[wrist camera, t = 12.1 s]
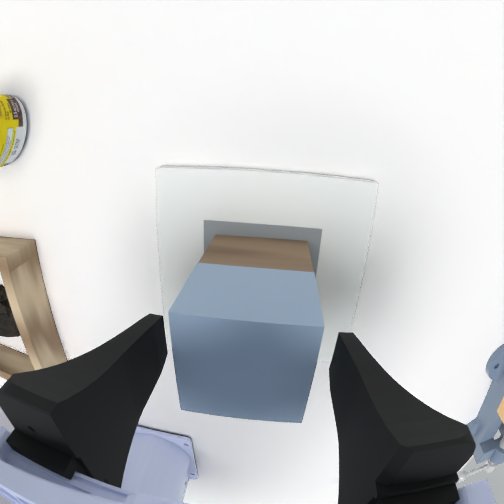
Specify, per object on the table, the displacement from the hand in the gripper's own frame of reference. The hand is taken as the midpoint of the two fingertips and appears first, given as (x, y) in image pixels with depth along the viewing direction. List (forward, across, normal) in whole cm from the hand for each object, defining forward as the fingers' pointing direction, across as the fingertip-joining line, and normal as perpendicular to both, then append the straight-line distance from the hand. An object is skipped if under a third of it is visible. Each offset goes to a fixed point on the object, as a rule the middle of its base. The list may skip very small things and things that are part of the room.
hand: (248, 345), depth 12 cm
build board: (+7, 0, 0) cm, 7 cm away
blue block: (+2, 0, 0) cm, 2 cm away
